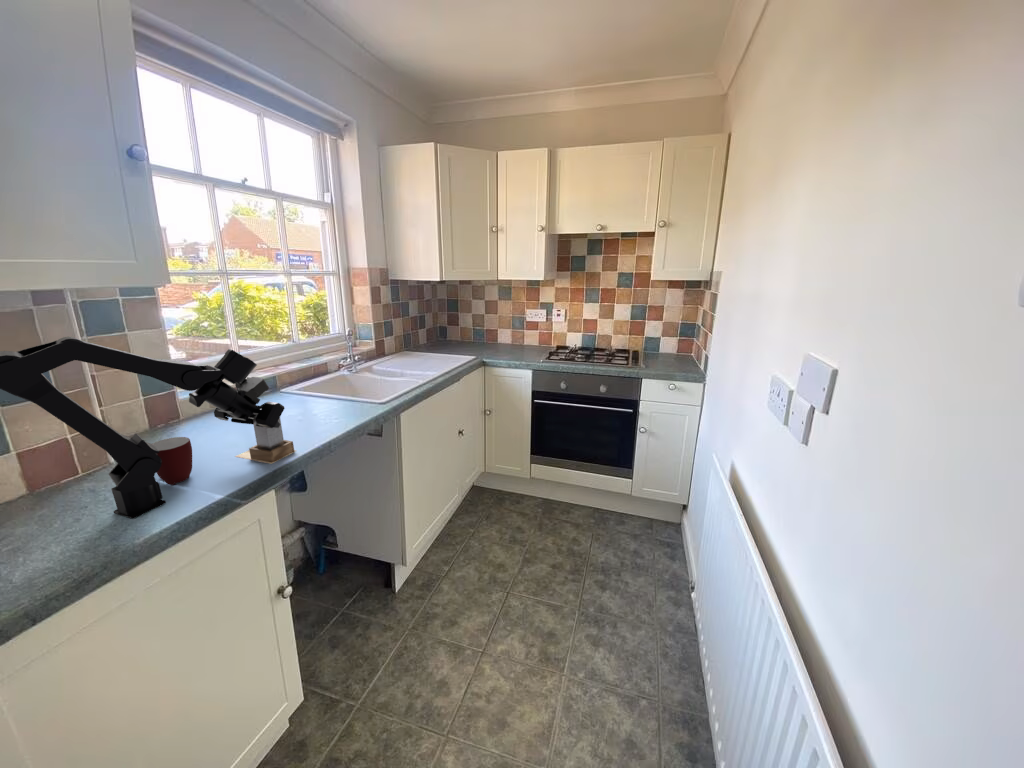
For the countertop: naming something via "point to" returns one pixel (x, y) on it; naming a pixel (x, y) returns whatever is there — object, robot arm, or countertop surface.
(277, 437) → the post
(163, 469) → the mug
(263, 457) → the stand
